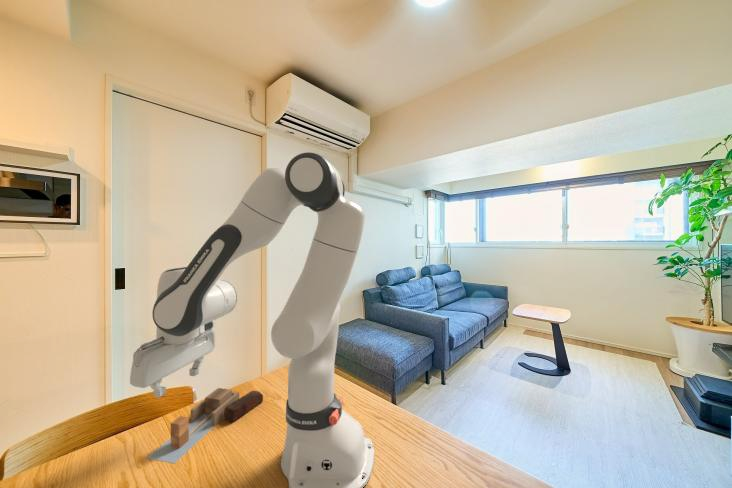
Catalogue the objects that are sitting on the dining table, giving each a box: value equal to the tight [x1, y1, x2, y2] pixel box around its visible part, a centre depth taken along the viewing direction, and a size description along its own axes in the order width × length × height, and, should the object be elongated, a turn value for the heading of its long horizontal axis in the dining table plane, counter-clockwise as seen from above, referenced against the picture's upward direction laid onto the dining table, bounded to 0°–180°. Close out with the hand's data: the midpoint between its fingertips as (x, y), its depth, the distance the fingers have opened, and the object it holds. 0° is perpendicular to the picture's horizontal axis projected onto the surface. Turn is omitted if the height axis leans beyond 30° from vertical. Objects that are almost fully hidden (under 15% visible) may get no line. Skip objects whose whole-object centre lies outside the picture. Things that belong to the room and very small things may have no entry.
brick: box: [223, 390, 264, 424], centre depth 76 cm, size 11×4×5 cm, turn 154°
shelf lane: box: [146, 390, 240, 464], centre depth 69 cm, size 8×22×4 cm, turn 169°
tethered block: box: [170, 387, 233, 449], centre depth 70 cm, size 5×17×6 cm, turn 169°
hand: (178, 384), depth 63 cm, fingers open, 8 cm apart
